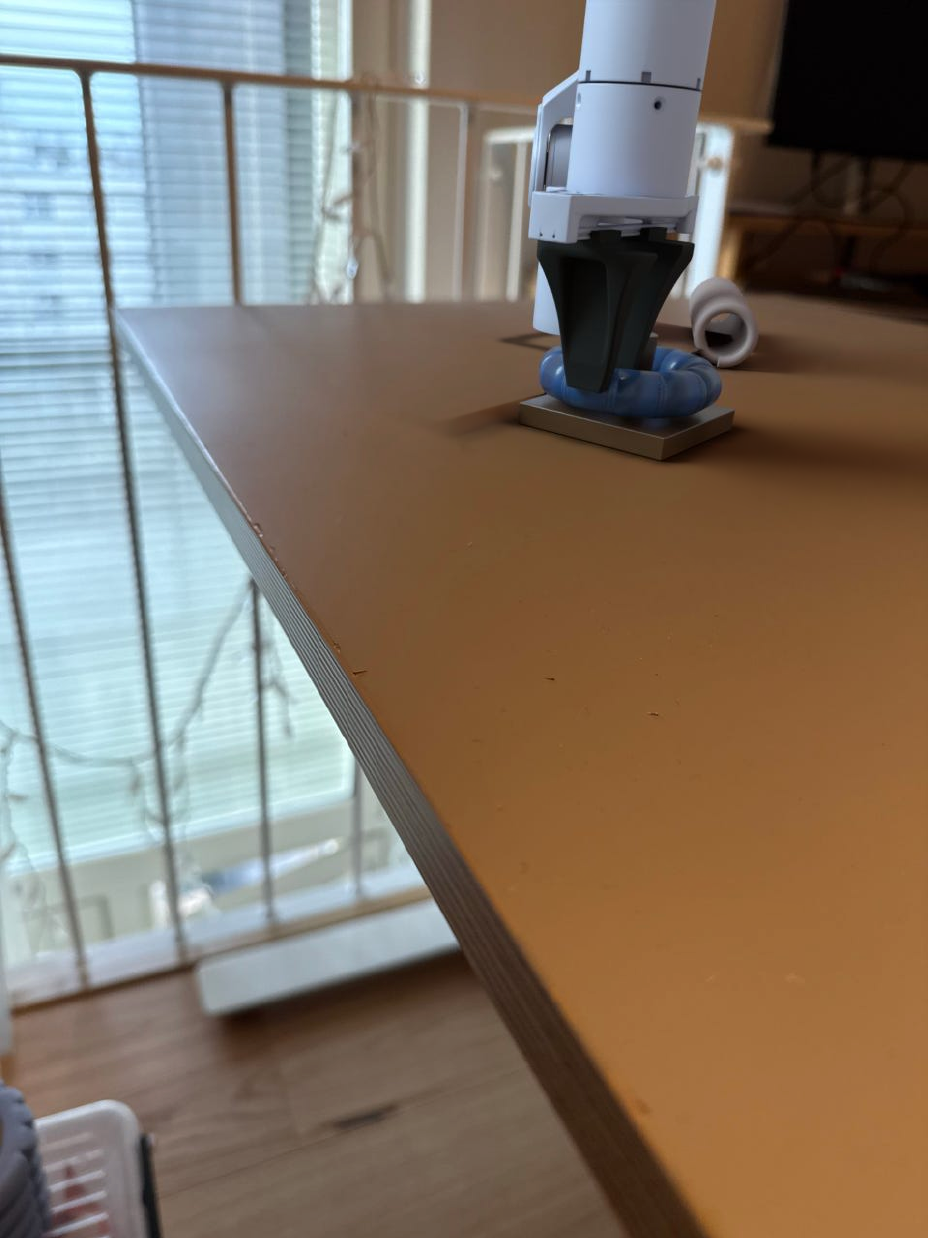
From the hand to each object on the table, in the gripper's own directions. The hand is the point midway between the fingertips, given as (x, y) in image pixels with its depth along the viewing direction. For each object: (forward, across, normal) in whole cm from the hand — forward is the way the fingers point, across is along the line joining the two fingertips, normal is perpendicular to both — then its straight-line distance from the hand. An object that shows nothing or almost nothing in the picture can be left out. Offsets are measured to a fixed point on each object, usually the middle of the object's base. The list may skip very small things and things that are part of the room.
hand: (599, 384), depth 49 cm
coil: (+3, -33, -5) cm, 34 cm away
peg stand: (+3, -4, 0) cm, 5 cm away
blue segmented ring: (0, -4, 0) cm, 4 cm away
